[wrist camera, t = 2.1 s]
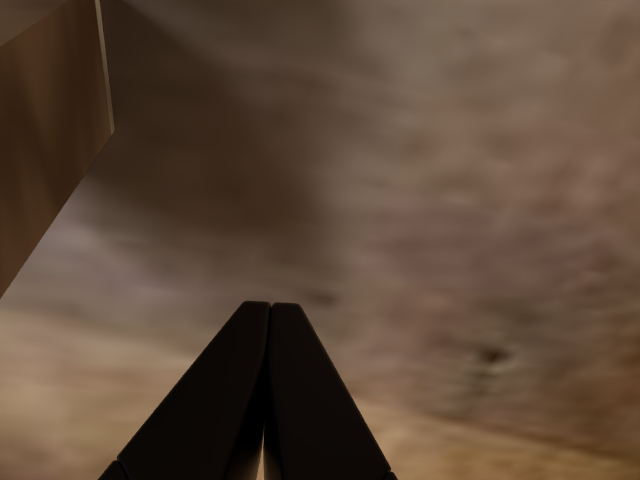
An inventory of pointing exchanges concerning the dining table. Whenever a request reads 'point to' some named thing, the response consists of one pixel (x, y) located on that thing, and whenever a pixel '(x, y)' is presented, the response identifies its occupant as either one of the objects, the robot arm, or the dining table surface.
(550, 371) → the dining table surface
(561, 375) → the dining table surface
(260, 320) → the robot arm
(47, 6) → the walnut block
